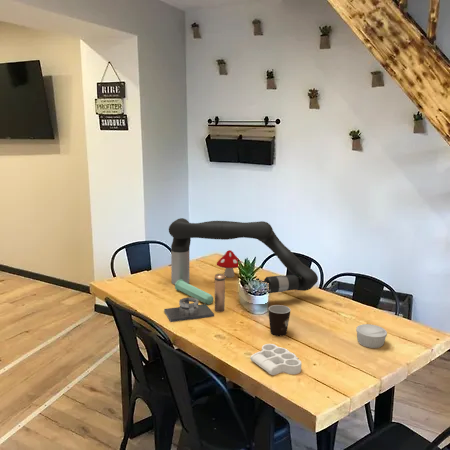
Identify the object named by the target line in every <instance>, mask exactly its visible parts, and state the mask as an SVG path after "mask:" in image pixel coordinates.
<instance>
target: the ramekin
mask: <svg viewBox="0 0 450 450" xmlns="http://www.w3.org/2000/svg"><path fill="white" fill-rule="evenodd" d="M355 330H356V339H357V342H358V344H359V345H361V346H363V347H365V348H369V349H370V348H371V349H378V348H381V347H382V346H384V344H385V341H386V338H387V335H388V332H387V330H386V329H385V328H383V327H382V326H379V325H376V324H371V323H370V324H369V323H364V324H359V325H357V327H356V329H355Z"/></svg>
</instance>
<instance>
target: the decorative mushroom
mask: <svg viewBox="0 0 450 450" xmlns="http://www.w3.org/2000/svg"><path fill="white" fill-rule="evenodd" d="M221 256H222V257H220V259H218V260H217V262H216V266H218V267H219V268H222V269H225V270H224V273H223V275H225V278H229V279H230V278H231V279H232V278H234V277H235V270H234V269H236V268H239V267H238V260H239V261H240V262H241V263H243V262H242V261H241V259H239V258H238V256H237V255H236V254H235V253H234V251H232V250H229V249H228V250H227V251H226V252H224V253H223V255H221ZM237 259H238V260H237Z"/></svg>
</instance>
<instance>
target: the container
mask: <svg viewBox="0 0 450 450" xmlns="http://www.w3.org/2000/svg"><path fill="white" fill-rule="evenodd" d="M174 289H175V290H176V291H177V292H180V293H183V294H185V295H187V296H188V297H190V298H196V299H198V301H199V302H200V303H202V304H206V305H207V306H208V305H211V304H212V303H213V302H214V296H213V295H212V294H211V293H209V292H206V291H204V290H203V289H200V288H198V287H196V286H194V285H192V284H190V283H189V284H188V283H186V282H184V281H183V280H182V279H181V280H178V281H177V282H176V283H175V285H174Z"/></svg>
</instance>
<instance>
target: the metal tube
mask: <svg viewBox="0 0 450 450" xmlns="http://www.w3.org/2000/svg"><path fill="white" fill-rule="evenodd" d="M225 296H226V277H225V275H224V273H217V274H215V275H214V312H216V313H224V312H225V309H226V307H225V306H226V305H225V301H226V300H225V299H226V297H225Z"/></svg>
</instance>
